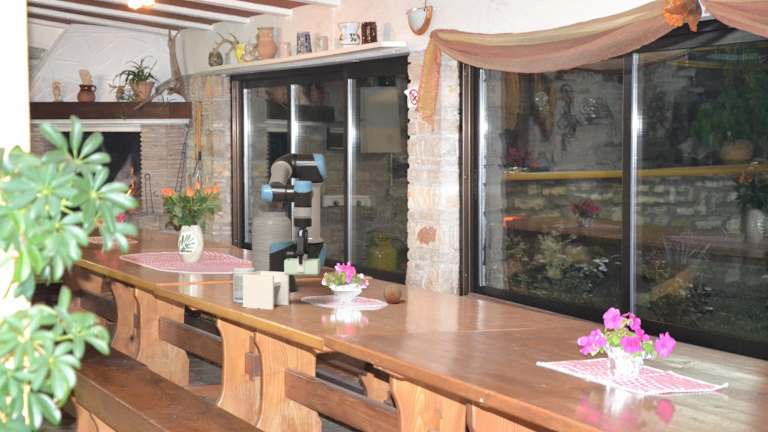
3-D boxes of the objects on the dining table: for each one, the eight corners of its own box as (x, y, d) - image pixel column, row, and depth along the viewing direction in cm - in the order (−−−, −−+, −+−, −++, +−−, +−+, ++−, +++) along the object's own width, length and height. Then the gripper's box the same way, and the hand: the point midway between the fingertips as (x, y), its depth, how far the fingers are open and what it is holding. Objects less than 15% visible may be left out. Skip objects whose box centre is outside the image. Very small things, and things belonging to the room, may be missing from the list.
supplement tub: (258, 302, 456) (259, 269, 455) (239, 304, 450) (239, 270, 449) (249, 300, 464) (249, 266, 463) (229, 301, 458) (229, 268, 457)
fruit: (380, 303, 457) (381, 285, 456) (387, 301, 464) (387, 283, 464) (398, 305, 454) (398, 286, 454) (404, 302, 462) (404, 284, 461)
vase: (257, 274, 559) (257, 211, 557) (294, 275, 557) (295, 211, 555) (247, 278, 539) (247, 213, 537) (286, 279, 537) (286, 214, 535)
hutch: (260, 302, 456) (260, 270, 455) (289, 304, 451) (289, 272, 450) (242, 307, 442) (243, 274, 441) (272, 309, 437) (272, 276, 436)
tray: (287, 272, 448) (287, 258, 448) (320, 273, 448) (320, 258, 447) (284, 274, 439) (284, 260, 439) (317, 275, 438) (317, 260, 438)
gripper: (297, 216, 453) (297, 267, 454) (290, 218, 431) (289, 273, 432) (314, 216, 453) (314, 268, 454) (308, 218, 431) (307, 273, 432)
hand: (302, 270), depth 443 cm, fingers closed on tray, 9 cm apart
